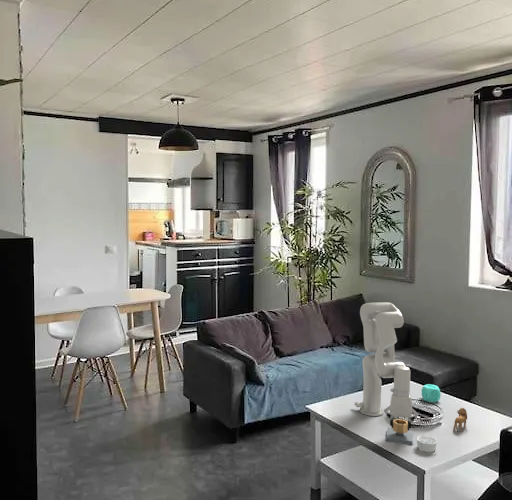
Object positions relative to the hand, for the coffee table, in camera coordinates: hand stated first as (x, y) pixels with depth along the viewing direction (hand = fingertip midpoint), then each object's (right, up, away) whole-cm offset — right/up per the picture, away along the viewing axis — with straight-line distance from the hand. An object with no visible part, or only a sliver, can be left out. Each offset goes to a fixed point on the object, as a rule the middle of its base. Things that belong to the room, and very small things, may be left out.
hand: (400, 427), depth 257 cm
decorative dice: (+32, -1, +51) cm, 60 cm away
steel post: (0, -3, +1) cm, 3 cm away
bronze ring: (0, -1, 0) cm, 1 cm away
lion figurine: (+33, -5, +13) cm, 36 cm away
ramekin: (+9, -6, -11) cm, 15 cm away
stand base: (0, -5, +1) cm, 5 cm away
